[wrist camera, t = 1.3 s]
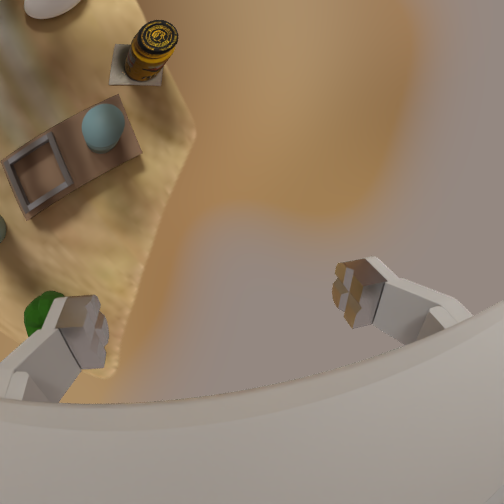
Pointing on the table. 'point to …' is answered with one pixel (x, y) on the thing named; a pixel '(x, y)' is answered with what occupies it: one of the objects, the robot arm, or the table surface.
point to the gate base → (70, 155)
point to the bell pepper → (39, 311)
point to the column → (2, 229)
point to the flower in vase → (48, 7)
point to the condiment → (144, 55)
